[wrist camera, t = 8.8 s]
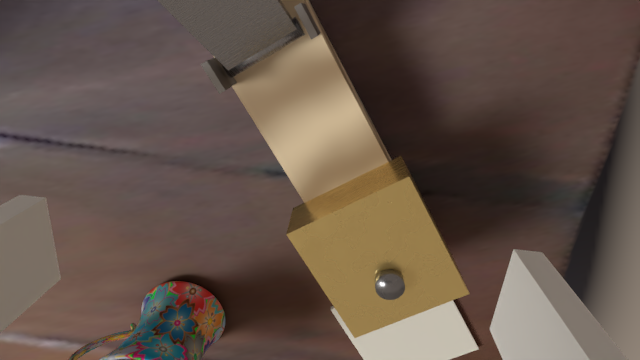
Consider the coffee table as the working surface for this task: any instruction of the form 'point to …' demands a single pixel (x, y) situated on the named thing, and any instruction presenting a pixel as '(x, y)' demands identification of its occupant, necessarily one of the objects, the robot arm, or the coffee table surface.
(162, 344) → the mug
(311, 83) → the body
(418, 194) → the yellow block with knob
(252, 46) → the lever
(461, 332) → the felt pad
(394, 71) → the coffee table surface
